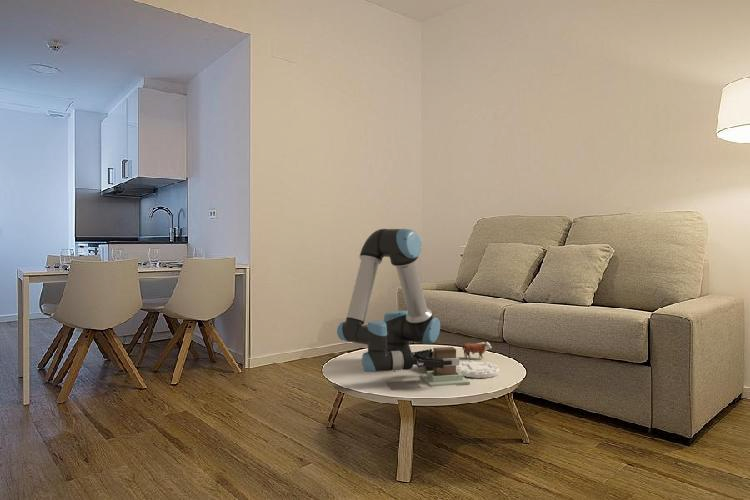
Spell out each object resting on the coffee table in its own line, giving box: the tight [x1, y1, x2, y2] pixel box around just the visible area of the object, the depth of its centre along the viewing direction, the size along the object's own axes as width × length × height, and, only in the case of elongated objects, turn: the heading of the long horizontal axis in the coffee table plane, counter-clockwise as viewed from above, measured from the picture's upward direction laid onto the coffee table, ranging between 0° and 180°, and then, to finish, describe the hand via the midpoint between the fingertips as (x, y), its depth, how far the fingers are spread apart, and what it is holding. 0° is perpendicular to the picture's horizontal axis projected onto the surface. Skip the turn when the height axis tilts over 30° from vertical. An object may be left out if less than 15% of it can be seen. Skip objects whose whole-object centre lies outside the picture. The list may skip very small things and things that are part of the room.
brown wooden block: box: [432, 346, 457, 376], centre depth 209 cm, size 4×8×12 cm, turn 102°
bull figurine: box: [462, 341, 492, 360], centre depth 243 cm, size 4×13×8 cm, turn 81°
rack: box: [420, 370, 471, 387], centre depth 209 cm, size 14×16×3 cm
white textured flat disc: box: [456, 359, 500, 379], centre depth 221 cm, size 20×20×3 cm
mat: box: [385, 379, 422, 391], centre depth 203 cm, size 10×12×1 cm
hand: (453, 357), depth 209 cm, fingers open, 12 cm apart
